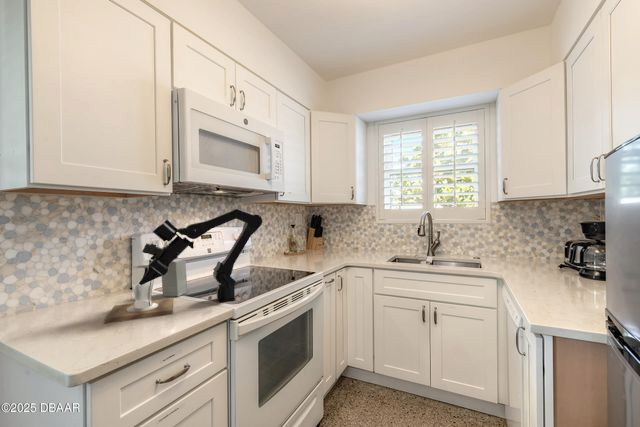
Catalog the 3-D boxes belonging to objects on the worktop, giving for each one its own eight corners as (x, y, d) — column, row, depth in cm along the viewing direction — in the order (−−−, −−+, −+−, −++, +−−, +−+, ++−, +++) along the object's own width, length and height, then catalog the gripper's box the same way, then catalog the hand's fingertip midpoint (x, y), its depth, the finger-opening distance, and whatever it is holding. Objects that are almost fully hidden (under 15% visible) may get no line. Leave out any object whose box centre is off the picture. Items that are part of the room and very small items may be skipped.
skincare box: (187, 293, 131) (187, 258, 131) (176, 297, 124) (176, 261, 124) (172, 292, 133) (172, 258, 133) (160, 296, 126) (160, 260, 126)
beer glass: (156, 303, 111) (155, 264, 111) (151, 309, 104) (151, 267, 104) (135, 305, 109) (135, 265, 109) (129, 311, 102) (129, 268, 102)
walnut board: (173, 302, 118) (173, 297, 118) (172, 314, 103) (172, 309, 103) (114, 309, 109) (114, 304, 109) (104, 323, 95) (104, 318, 95)
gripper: (156, 234, 117) (124, 264, 111) (156, 237, 101) (118, 272, 95) (178, 252, 121) (148, 281, 115) (181, 257, 105) (146, 292, 99)
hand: (140, 281), depth 106 cm, fingers open, 9 cm apart
